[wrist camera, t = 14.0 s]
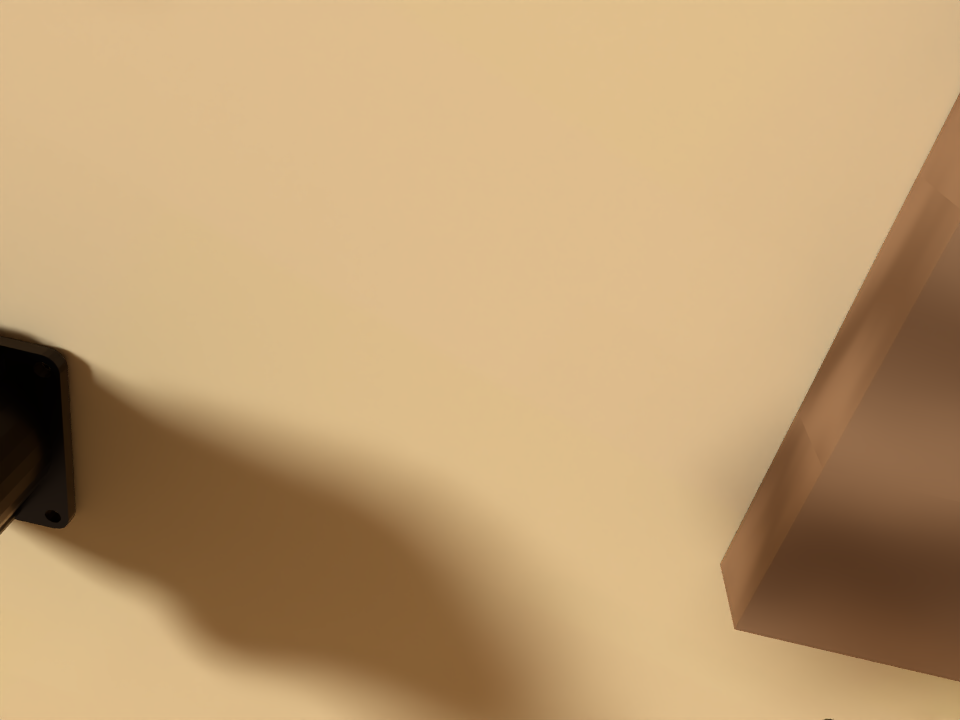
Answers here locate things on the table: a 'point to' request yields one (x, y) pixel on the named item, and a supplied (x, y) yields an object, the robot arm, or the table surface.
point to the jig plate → (873, 462)
